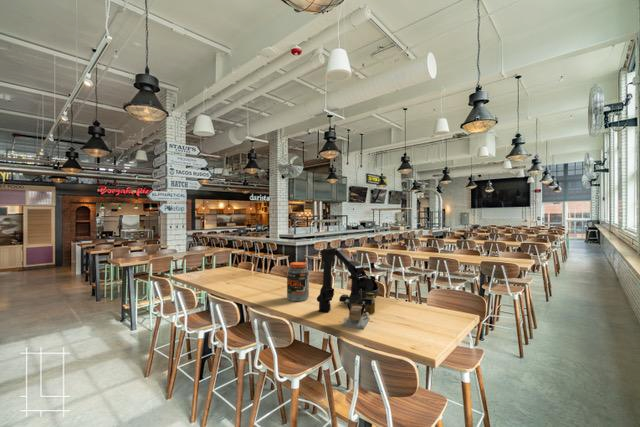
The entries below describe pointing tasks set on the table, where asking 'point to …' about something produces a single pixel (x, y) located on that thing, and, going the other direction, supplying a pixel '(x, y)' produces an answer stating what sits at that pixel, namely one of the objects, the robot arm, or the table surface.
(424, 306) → the table surface
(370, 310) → the condiment
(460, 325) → the table surface
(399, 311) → the table surface
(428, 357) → the table surface
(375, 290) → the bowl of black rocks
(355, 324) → the chassis
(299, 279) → the supplement tub
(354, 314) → the block
